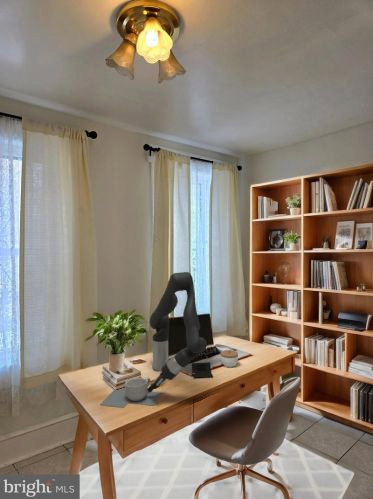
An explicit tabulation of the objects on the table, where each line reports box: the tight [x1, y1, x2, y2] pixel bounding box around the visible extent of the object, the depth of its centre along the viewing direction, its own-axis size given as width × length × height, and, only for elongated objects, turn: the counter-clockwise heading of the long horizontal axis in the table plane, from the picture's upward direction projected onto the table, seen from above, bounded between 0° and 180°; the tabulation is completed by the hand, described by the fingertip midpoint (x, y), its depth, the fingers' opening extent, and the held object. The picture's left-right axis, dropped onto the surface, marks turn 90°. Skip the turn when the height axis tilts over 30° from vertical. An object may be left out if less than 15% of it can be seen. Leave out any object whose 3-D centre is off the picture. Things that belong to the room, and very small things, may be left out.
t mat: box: [99, 388, 163, 409], centre depth 155 cm, size 22×25×1 cm
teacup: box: [124, 377, 151, 401], centre depth 154 cm, size 14×11×8 cm
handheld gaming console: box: [191, 362, 214, 380], centre depth 180 cm, size 12×7×10 cm
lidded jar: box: [220, 349, 239, 368], centre depth 194 cm, size 11×11×9 cm
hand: (148, 390), depth 153 cm, fingers closed
